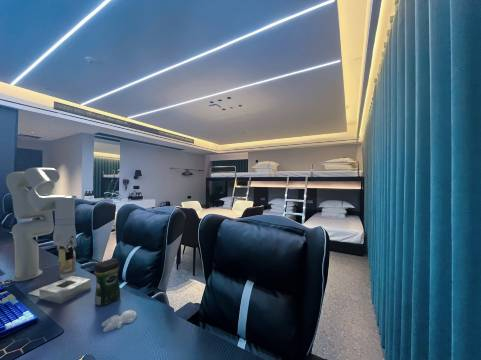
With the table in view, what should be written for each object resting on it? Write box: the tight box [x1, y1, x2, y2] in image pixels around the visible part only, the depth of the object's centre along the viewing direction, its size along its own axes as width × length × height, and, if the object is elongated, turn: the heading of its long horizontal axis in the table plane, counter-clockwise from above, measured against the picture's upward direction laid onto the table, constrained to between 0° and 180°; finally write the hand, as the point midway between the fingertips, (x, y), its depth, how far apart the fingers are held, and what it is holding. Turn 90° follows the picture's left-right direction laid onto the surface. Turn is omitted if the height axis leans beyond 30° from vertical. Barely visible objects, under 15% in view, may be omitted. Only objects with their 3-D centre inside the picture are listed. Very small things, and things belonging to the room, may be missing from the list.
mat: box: [27, 284, 49, 298], centre depth 106 cm, size 8×8×1 cm
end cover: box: [58, 246, 72, 272], centre depth 104 cm, size 5×5×10 cm
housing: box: [38, 275, 92, 305], centre depth 104 cm, size 14×14×4 cm
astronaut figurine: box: [101, 309, 138, 333], centre depth 83 cm, size 9×12×3 cm
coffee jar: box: [93, 257, 121, 307], centre depth 97 cm, size 10×8×19 cm
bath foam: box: [59, 244, 77, 280], centre depth 121 cm, size 7×7×20 cm
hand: (65, 258), depth 104 cm, fingers closed on end cover, 5 cm apart
